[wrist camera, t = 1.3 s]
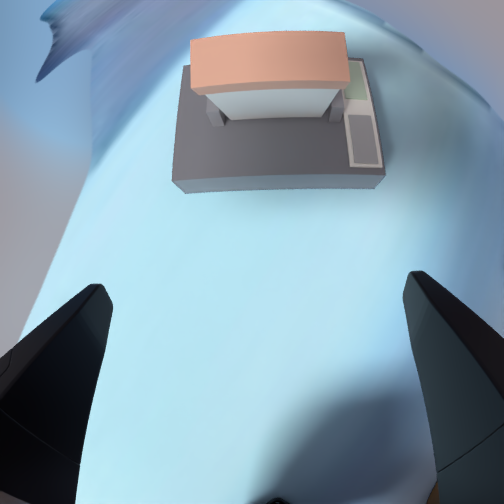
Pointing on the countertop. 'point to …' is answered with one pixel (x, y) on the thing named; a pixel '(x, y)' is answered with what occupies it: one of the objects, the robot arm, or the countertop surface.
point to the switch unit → (279, 144)
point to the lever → (270, 72)
